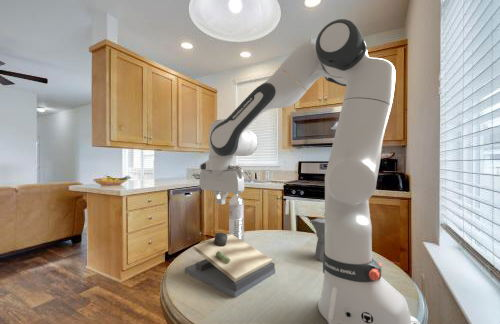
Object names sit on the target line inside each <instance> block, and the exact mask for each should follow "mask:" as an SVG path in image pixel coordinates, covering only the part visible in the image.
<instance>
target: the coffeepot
mask: <svg viewBox="0 0 500 324" xmlns="http://www.w3.org/2000/svg"><path fill="white" fill-rule="evenodd" d="M323 215H324V216H325V213H324V214H323ZM309 223H310V224H311V225H312V227H313V229H314V230H315V234H316V237H317V242H316V247H315V252H314V258H315V259H316V260H317V261H320V262H322V263H323V252H324V251H325V217H318V218H315V219H311V220H309Z"/></svg>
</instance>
